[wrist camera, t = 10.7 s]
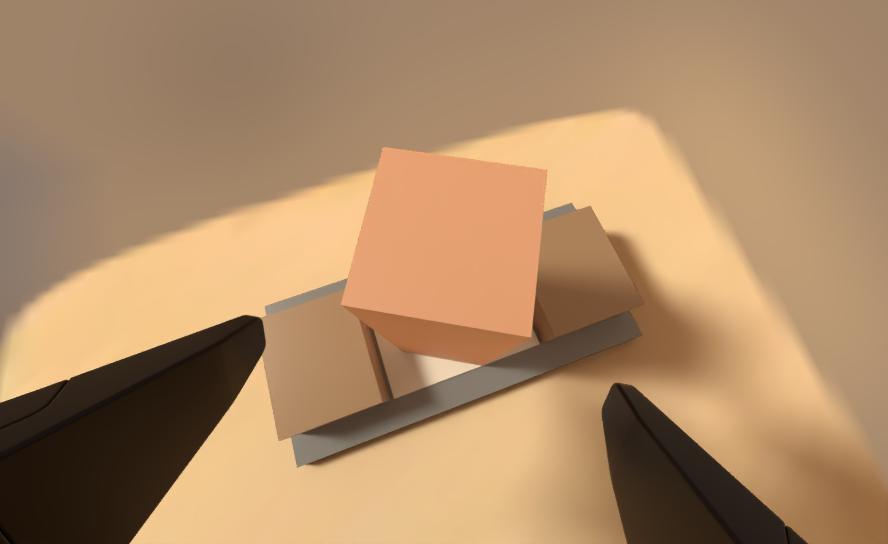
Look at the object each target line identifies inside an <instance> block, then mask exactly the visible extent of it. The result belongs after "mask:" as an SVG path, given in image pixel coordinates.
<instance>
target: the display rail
mask: <svg viewBox="0 0 888 544" xmlns="http://www.w3.org/2000/svg"><path fill="white" fill-rule="evenodd" d="M347 279H348V278H347ZM347 279H344V280H342V281H339V282H336V283H333V284H330V285H327V286H324V287H321V288H318V289H315V290H312V291H309V292H306V293H303V294H300V295H297V296H294V297H291V298H288V299H285V300H282V301H279V302H276V303H273V304H270V305H267V306H265V310H266V315H267V316H265V317H262V318H261V319H262V321H263V325H264V332H265V339H266V347H265V350H264V352H263V354H262V356H263V361H264V367H265V372H266V377H267V382H268V388H269V393H270V398H271V403H272V409H273V414H274V419H275V424H276V429H277V435H278V440H279V441H281V440H284V439H287V438H290V437H291V439H292V444H293V449H294V454H295V459H296V464H297V468H298V467H300V466H303V465H305V464H308V463H311V462H313V461H316V460H318V459H321V458H324V457H326V456H329V455H331V454H334V453H337V452H339V451H342V450H345V449H347V448H350V447H352V446H355V445H358V444H360V443H363V442H365V441H368V440H371V439H373V438H376V437H378V436H381V435H384V434H386V433H389V432H391V431H394V430H397V429H399V428H402V427H404V426H407V425H410V424H412V423H415V422H417V421H420V420H423V419H425V418H428V417H430V416H433V415H436V414H438V413H441V412H443V411H446V410H449V409H451V408H454V407H456V406H459V405H462V404H464V403H467V402H469V401H472V400H475V399H477V398H480V397H482V396H485V395H488V394H490V393H493V392H495V391H498V390H501V389H503V388H506V387H508V386H511V385H514V384H516V383H519V382H521V381H524V380H527V379H529V378H532V377H534V376H537V375H540V374H542V373H545V372H548V371H550V370H553V369H555V368H558V367H561V366H563V365H566V364H568V363H571V362H574V361H576V360H579V359H581V358H584V357H587V356H589V355H592V354H594V353H597V352H600V351H602V350H605V349H607V348H610V347H613V346H615V345H618V344H620V343H623V342H626V341H628V340H631V339H633V338H636V337H639V336H641V335H642V334H641V332H640V330H639V328H638V326H637V324H636V322H635V321H634V319H633V317H632V315H631V313H630V311H629V310H631V309H634V308H636V307H638V306H641V305H643V304H644V302H643V300H642V299H641V297H640V295H639V293H638V291H637V289H636V288H635V286H634V284H633V282H632V280H631V279H630V277H629V275H628V273H627V271H626V269H625V268H624V266H623V264H622V262H621V260H620V259H619V257H618V255H617V253H616V251H615V249H614V248H613V246H612V244H611V242H610V240H609V239H608V237H607V235H606V233H605V231H604V229H603V228H602V226H601V224H600V222H599V220H598V219H597V217H596V215H595V213H594V211H593V209H592V208H591V206H588V207H585V208H582V209H579V210H575V208H574V206H573V204H572V203H570V204H567V205H564V206H561V207H558V208H555V209H552V210H549V211H546V212H543V221H542V232H541V242H540V253H539V263H538V273H537V284H536V294H535V304H534V315H533V325H532V336H531V338H530V339H528V340H526V341H525V342H523V343H521V344H520V345H518V346H516V347H514V348H513V349H511V350H509V351H508V352H506V353H504V354H502V355H501V356H499V357H497V358H495V359H494V360H492V361H490V362H489V363H487V364H485V365H483V366H480V365H474V364H469V363H463V362H457V361H452V360H446V359H440V358H435V357H429V356H424V355H418V354H412V353H407V352H403V351H401V350H400V349H399V348H397V347H396V346H395V345H393V344H392V343H391V342H389V341H388V340H387V339H385V338H384V337H383V336H381V335H380V334H379V333H377V332H376V331H375V330H373V329H372V328H371V327H369V326H368V325H367V324H365V323H364V322H363V321H361V320H360V319H359V318H357V317H356V316H355V315H353V314H352V313H351V312H349V311H348V310H347V309H345V308H344V307H343V306H341V302H342V298H343V294H344V290H345V287H346V283H347Z"/></svg>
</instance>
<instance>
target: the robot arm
mask: <svg viewBox="0 0 888 544" xmlns="http://www.w3.org/2000/svg"><path fill="white" fill-rule="evenodd" d="M265 347H266V339H265V332H264V325H263V321H262V319H261V318H260V317H256V316H250V315H243V316H240V317H237V318H234V319H232V320H229V321H226V322H223V323H221V324H218V325H215V326H212V327H210V328H207V329H204V330H201V331H199V332H196V333H193V334H190V335H188V336H185V337H182V338H179V339H177V340H174V341H171V342H168V343H166V344H163V345H160V346H157V347H155V348H152V349H149V350H146V351H144V352H141V353H138V354H135V355H133V356H130V357H127V358H124V359H121V360H119V361H116V362H113V363H110V364H108V365H105V366H102V367H99V368H97V369H94V370H91V371H88V372H86V373H83V374H80V375H77V376H75V377H72V378H70V380H63V381H61V382H58V383H55V384H52V385H50V386H47V387H44V388H41V389H39V390H36V391H33V392H30V393H27V394H24V395H21V396H19V397H16V398H13V399H10V400H7V401H4V402H1V403H0V544H130V542H131V541H132V540H133V538H134V537H135V535H136V534H137V533H138V531H139V530H140V529H141V527H142V526H143V525H144V523H145V522H146V521H147V519H148V518H149V516H150V515H151V514H152V512H153V511H154V510H155V508H156V507H157V506H158V504H159V503H160V502H161V500H162V499H163V498H164V496H165V495H166V493H167V492H168V491H169V489H170V488H171V487H172V485H173V484H174V483H175V481H176V480H177V479H178V477H179V476H180V474H181V473H182V472H183V470H184V469H185V468H186V466H187V465H188V464H189V462H190V461H191V460H192V458H193V457H194V455H195V454H196V453H197V451H198V450H199V449H200V447H201V446H202V445H203V443H204V442H205V441H206V439H207V438H208V436H209V435H210V434H211V432H212V431H213V430H214V428H215V427H216V426H217V424H218V423H219V422H220V420H221V419H222V417H223V416H224V415H225V413H226V412H227V411H228V409H229V408H230V406H231V405H232V404H233V402H234V401H235V399H236V397H237V396H238V394H239V393H240V391H241V389H242V388H243V386H244V384H245V382H246V381H247V379H248V377H249V376H250V374H251V372H252V371H253V369H254V367H255V366H256V364H257V362H258V361H259V359H260V357H261V356H262V354H263V352H264V350H265ZM602 421H603V428H604V435H605V442H606V449H607V456H608V463H609V470H610V475H611V481H612V485H613V489H614V493H615V497H616V501H617V505H618V509H619V513H620V517H621V521H622V525H623V529H624V533H625V537H626V541H627V544H808V543H807V542H806V541H804V540H803V539H802V538H801V537H800V536H799V535H798V534H797V533H796V532H795V531H793V530H792V529H791V528H790V527H788V526H785V523H784V522H783V521H782V520H781V519H780V518H779V517H778V516H777V515H776V514H774V513H773V512H772V511H771V510H770V509H769V508H768V507H767V506H766V505H764V504H763V503H762V502H761V501H760V500H759V499H758V498H757V497H756V496H755V495H753V494H752V493H751V492H750V491H749V490H748V489H747V488H746V487H745V486H743V485H742V484H741V483H740V482H739V481H738V480H737V479H736V478H735V477H734V476H732V475H731V474H730V473H729V472H728V471H727V470H726V469H725V468H724V467H722V466H721V465H720V464H719V463H718V462H717V461H716V460H715V459H714V458H712V457H711V456H710V455H709V454H708V453H707V452H706V451H705V450H704V449H703V448H701V447H700V446H699V445H698V444H697V443H696V442H695V441H694V440H693V439H691V438H690V437H689V436H688V435H687V434H686V433H685V432H684V431H683V430H682V429H680V428H679V427H678V426H677V425H676V424H675V423H674V422H673V421H672V420H670V419H669V418H668V417H667V416H666V415H665V414H664V413H663V412H662V411H661V410H659V409H658V408H657V407H656V406H655V405H654V404H653V403H652V402H651V401H649V400H648V399H647V398H646V397H645V396H644V395H643V394H642V393H641V392H639V391H638V390H637V389H636V388H635V387H634V386H632V385H628V384H622V383H614V384H613V385H612V387H611V389H610V391H609V393H608V396H607V398H606V400H605V402H604V404H603V407H602Z"/></svg>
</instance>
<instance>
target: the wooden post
mask: <svg viewBox="0 0 888 544" xmlns="http://www.w3.org/2000/svg"><path fill="white" fill-rule="evenodd" d="M546 180H547V170H544V169H537V168H530V167H523V166H516V165H509V164H501V163H494V162H487V161H480V160H473V159H466V158H458V157H451V156H444V155H437V154H430V153H423V152H415V151H408V150H401V149H394V148H386V147H383V150H382V154H381V157H380V161H379V164H378V168H377V172H376V175H375V179H374V183H373V187H372V190H371V194H370V198H369V201H368V205H367V209H366V213H365V216H364V220H363V224H362V227H361V231H360V235H359V239H358V242H357V246H356V250H355V253H354V257H353V261H352V264H351V268H350V272H349V276H348V279H347V283H346V287H345V290H344V294H343V298H342V302H341V306H343V307H344V308H345V309H347V310H348V311H349V312H351V313H352V314H353V315H355V316H356V317H357V318H359V319H360V320H361V321H363V322H364V323H365V324H367V325H368V326H369V327H371V328H372V329H373V330H375V331H376V332H377V333H379V334H380V335H381V336H383V337H384V338H385V339H387V340H388V341H389V342H391V343H392V344H393V345H395V346H396V347H397V348H399V349H400V350H401V351H403V352H407V353H412V354H418V355H424V356H429V357H435V358H440V359H446V360H452V361H457V362H463V363H469V364H474V365H480V366H483V365H485V364H487V363H489V362H490V361H492V360H494V359H495V358H497V357H499V356H501V355H502V354H504V353H506V352H508V351H509V350H511V349H513V348H514V347H516V346H518V345H520V344H521V343H523V342H525V341H526V340H528V339H530V338H531V336H532V325H533V315H534V304H535V294H536V284H537V273H538V263H539V253H540V242H541V232H542V221H543V211H544V201H545V190H546Z"/></svg>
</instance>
